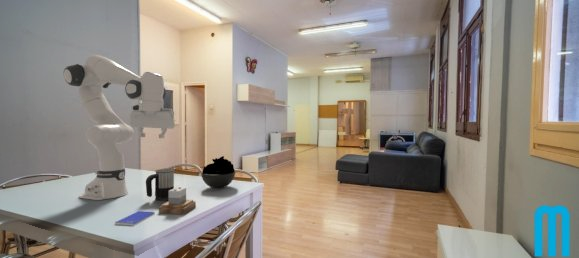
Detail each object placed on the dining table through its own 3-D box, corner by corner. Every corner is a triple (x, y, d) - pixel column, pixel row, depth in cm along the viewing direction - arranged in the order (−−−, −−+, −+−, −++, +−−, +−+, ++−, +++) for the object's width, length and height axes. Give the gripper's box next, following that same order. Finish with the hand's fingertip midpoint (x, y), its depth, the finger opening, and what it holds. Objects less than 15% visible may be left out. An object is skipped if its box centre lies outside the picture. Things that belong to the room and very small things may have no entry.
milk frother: (165, 194, 139) (165, 168, 139) (188, 197, 134) (188, 170, 133) (142, 202, 126) (142, 173, 126) (166, 206, 120) (166, 175, 120)
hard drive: (133, 223, 98) (154, 211, 110) (114, 221, 99) (137, 210, 111) (133, 227, 98) (154, 215, 110) (114, 225, 99) (137, 214, 111)
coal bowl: (217, 194, 140) (217, 161, 140) (194, 189, 150) (194, 158, 150) (242, 186, 157) (242, 156, 157) (219, 182, 168) (219, 154, 167)
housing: (176, 199, 119) (176, 186, 119) (186, 200, 118) (186, 187, 118) (168, 204, 113) (168, 190, 113) (179, 204, 112) (178, 190, 112)
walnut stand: (158, 213, 111) (158, 205, 111) (172, 205, 121) (172, 198, 121) (184, 214, 110) (184, 206, 110) (195, 206, 120) (195, 199, 120)
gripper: (177, 109, 118) (176, 138, 118) (137, 107, 120) (136, 136, 121) (169, 108, 112) (168, 139, 112) (127, 106, 114) (126, 136, 115)
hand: (152, 137), depth 117 cm, fingers open, 8 cm apart
